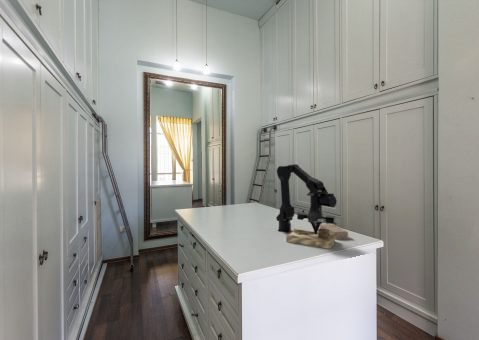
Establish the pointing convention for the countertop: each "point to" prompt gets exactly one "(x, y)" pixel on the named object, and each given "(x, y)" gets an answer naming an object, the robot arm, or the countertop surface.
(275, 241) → the countertop surface
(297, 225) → the countertop surface
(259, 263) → the countertop surface
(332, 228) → the brick
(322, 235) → the walnut block
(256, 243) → the countertop surface
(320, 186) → the robot arm
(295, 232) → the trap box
